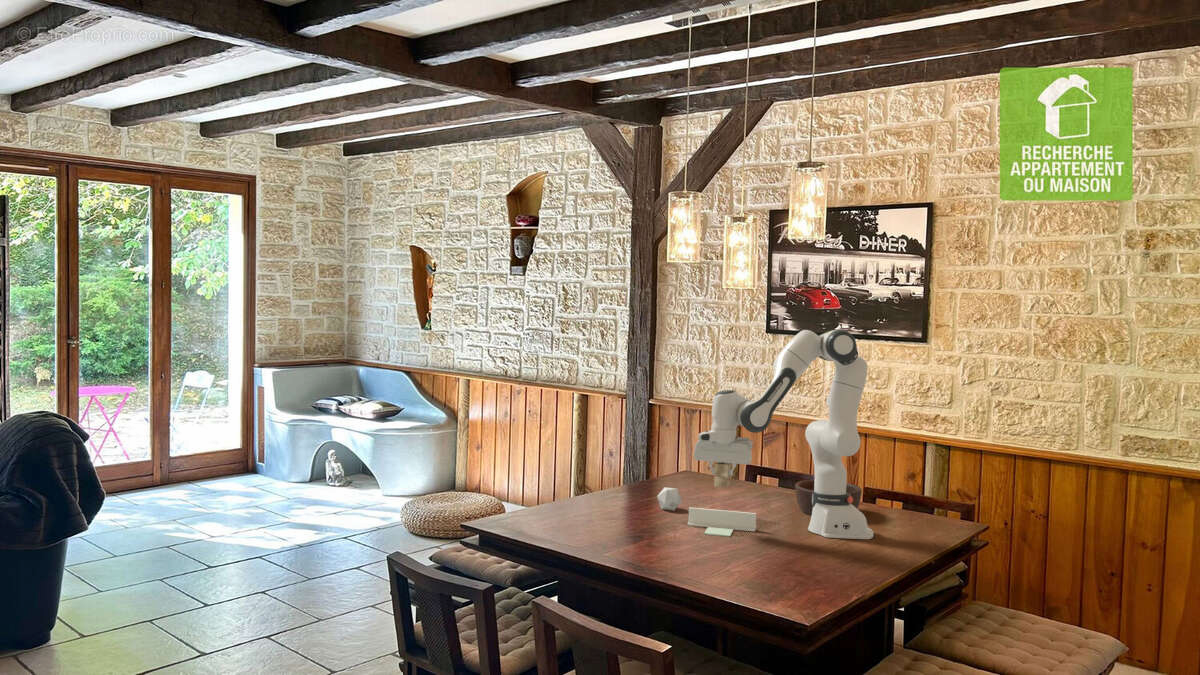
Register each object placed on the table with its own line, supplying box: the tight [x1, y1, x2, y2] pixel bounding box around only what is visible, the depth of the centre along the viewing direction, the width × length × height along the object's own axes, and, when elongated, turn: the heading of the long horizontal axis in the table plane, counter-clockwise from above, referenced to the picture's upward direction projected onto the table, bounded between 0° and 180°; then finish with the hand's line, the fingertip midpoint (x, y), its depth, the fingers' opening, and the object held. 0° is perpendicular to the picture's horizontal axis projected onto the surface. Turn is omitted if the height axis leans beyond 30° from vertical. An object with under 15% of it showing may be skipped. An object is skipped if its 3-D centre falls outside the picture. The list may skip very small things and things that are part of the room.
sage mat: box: [703, 527, 734, 538], centre depth 317 cm, size 9×9×1 cm
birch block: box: [713, 462, 731, 488], centre depth 321 cm, size 4×4×8 cm
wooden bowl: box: [794, 479, 862, 516], centre depth 351 cm, size 25×25×10 cm
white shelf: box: [687, 506, 757, 532], centre depth 324 cm, size 24×4×6 cm, turn 75°
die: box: [656, 486, 682, 511], centre depth 349 cm, size 8×9×10 cm
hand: (721, 474), depth 321 cm, fingers closed on birch block, 4 cm apart
